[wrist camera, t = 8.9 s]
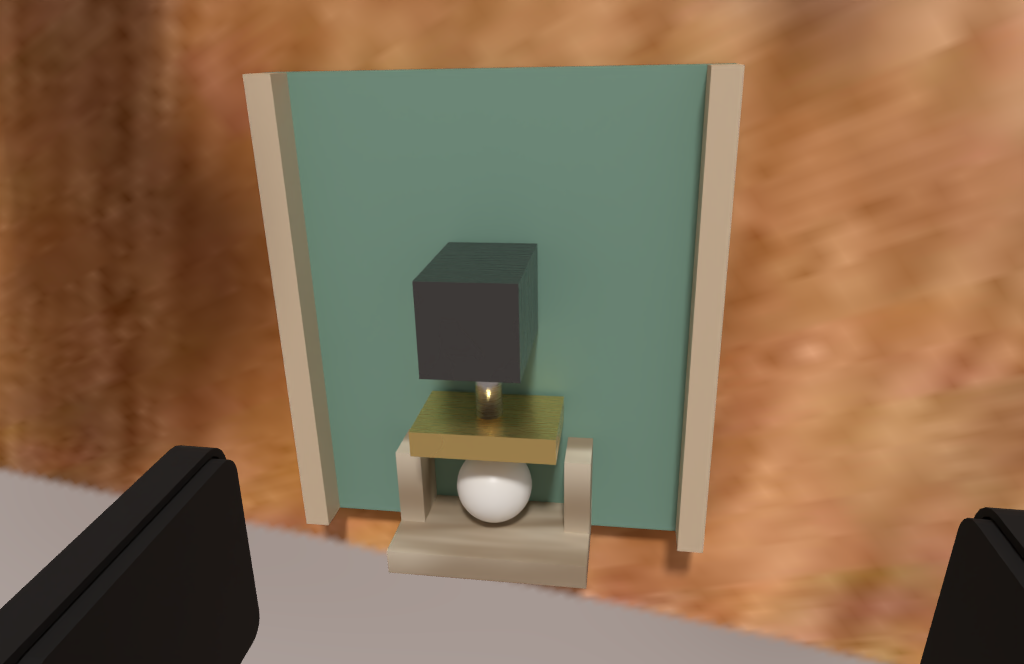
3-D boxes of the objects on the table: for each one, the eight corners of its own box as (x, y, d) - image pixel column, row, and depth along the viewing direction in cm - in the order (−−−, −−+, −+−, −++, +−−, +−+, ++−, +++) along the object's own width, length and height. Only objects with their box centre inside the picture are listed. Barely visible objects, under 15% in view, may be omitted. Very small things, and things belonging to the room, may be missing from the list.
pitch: (272, 71, 33) (242, 74, 31) (734, 63, 30) (744, 65, 28) (327, 493, 41) (306, 523, 38) (697, 518, 38) (702, 552, 36)
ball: (448, 528, 34) (464, 510, 38) (525, 533, 34) (534, 515, 37) (450, 449, 34) (466, 439, 38) (528, 454, 34) (537, 443, 37)
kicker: (422, 241, 33) (381, 280, 28) (564, 243, 32) (551, 284, 27) (433, 412, 36) (398, 478, 31) (563, 419, 35) (551, 488, 30)
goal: (409, 428, 37) (379, 480, 33) (593, 438, 36) (587, 493, 32) (416, 512, 39) (388, 572, 35) (591, 524, 38) (586, 588, 33)
